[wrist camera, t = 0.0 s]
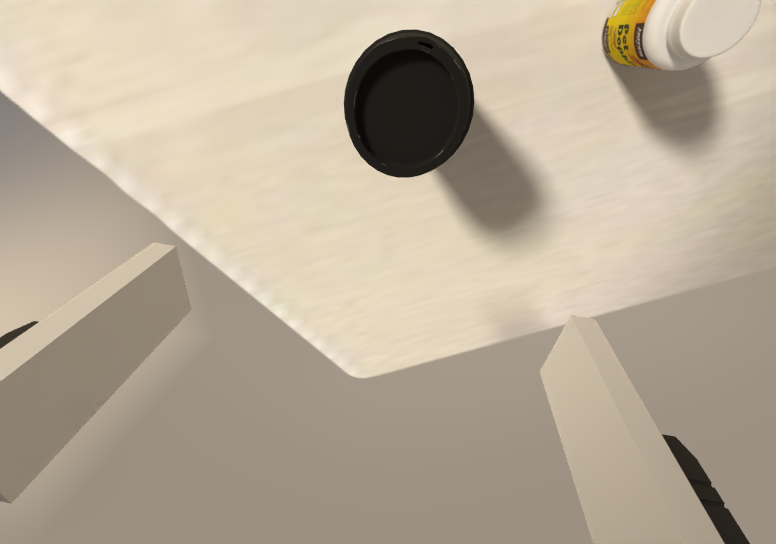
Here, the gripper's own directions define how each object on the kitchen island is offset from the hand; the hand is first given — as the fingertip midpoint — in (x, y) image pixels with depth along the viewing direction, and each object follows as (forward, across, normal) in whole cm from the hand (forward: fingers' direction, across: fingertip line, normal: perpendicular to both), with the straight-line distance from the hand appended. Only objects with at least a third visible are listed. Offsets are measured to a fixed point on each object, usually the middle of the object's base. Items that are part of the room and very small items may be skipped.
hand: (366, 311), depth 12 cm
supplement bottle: (+28, +17, +11) cm, 35 cm away
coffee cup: (+28, 0, +4) cm, 29 cm away
